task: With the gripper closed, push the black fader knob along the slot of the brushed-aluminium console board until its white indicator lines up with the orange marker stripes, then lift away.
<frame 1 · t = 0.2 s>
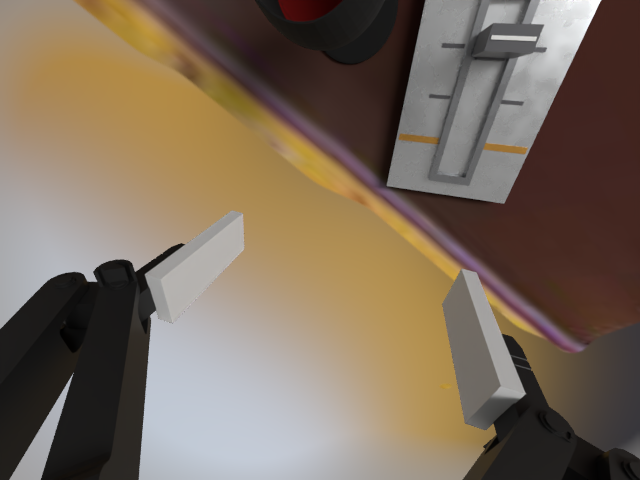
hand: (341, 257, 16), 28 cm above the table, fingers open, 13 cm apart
console: (470, 99, 32), on the table
fader knob: (502, 43, 25), point 5 cm above the table, slide at -5.0 cm
wine glass: (353, 13, 31), on the table
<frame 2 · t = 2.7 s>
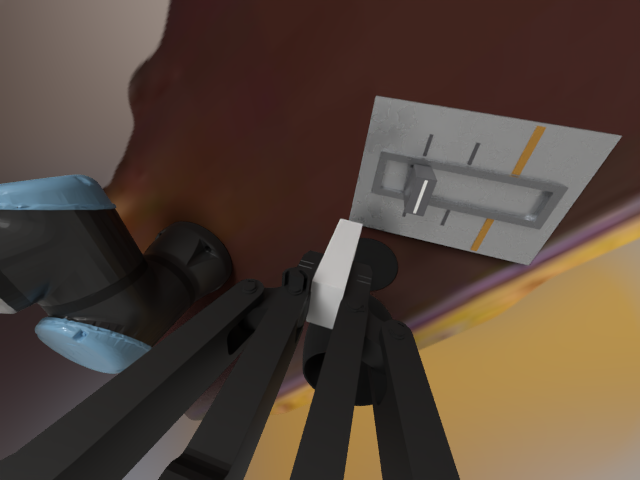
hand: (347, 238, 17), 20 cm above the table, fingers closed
console: (455, 182, 33), on the table
fader knob: (418, 187, 29), point 5 cm above the table, slide at -5.0 cm
wine glass: (365, 264, 42), on the table
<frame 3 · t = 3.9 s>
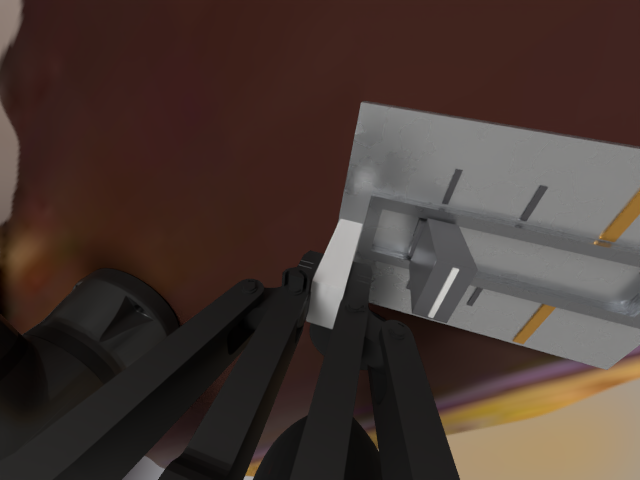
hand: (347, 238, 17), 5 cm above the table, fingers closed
console: (492, 240, 20), on the table
fader knob: (435, 262, 16), point 5 cm above the table, slide at -5.0 cm
wine glass: (352, 336, 30), on the table
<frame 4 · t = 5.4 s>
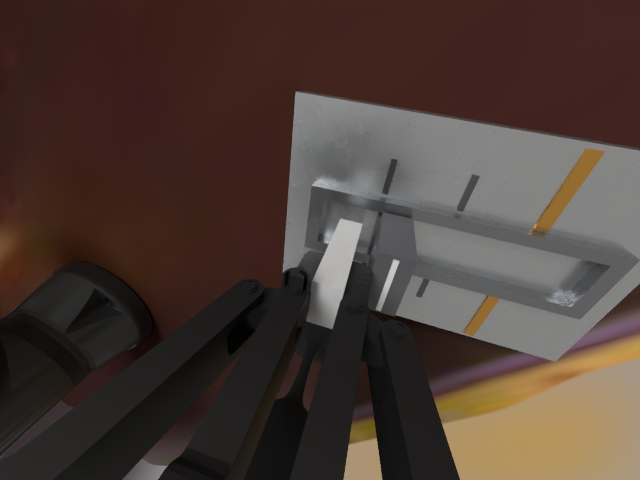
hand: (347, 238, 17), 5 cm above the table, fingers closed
console: (439, 231, 20), on the table
fader knob: (388, 256, 16), point 5 cm above the table, slide at -3.8 cm, touching gripper
wine glass: (317, 330, 30), on the table
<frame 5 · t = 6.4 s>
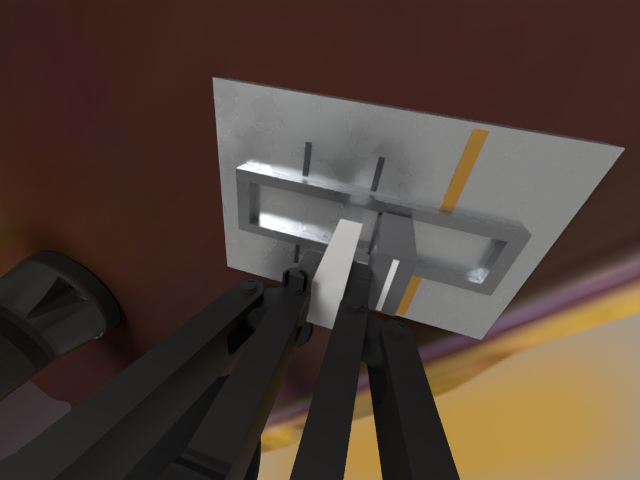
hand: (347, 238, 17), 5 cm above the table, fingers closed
console: (367, 214, 21), on the table
fader knob: (388, 256, 16), point 5 cm above the table, slide at 2.0 cm, touching gripper
wine glass: (271, 315, 31), on the table
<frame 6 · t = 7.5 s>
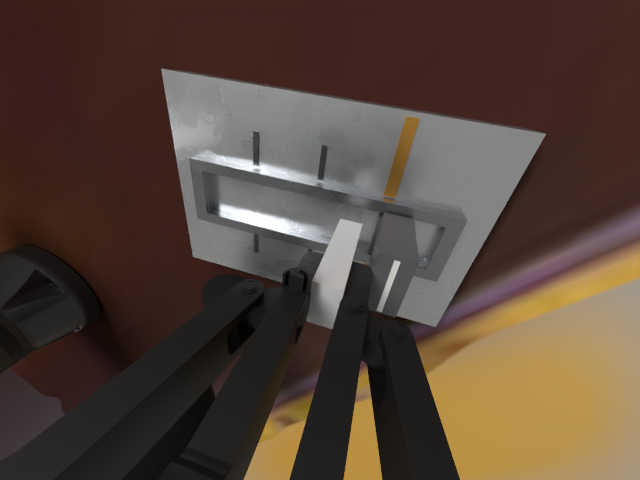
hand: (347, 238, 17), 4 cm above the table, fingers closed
console: (322, 204, 22), on the table
fader knob: (389, 256, 16), point 5 cm above the table, slide at 5.9 cm, touching gripper
wine glass: (242, 307, 32), on the table
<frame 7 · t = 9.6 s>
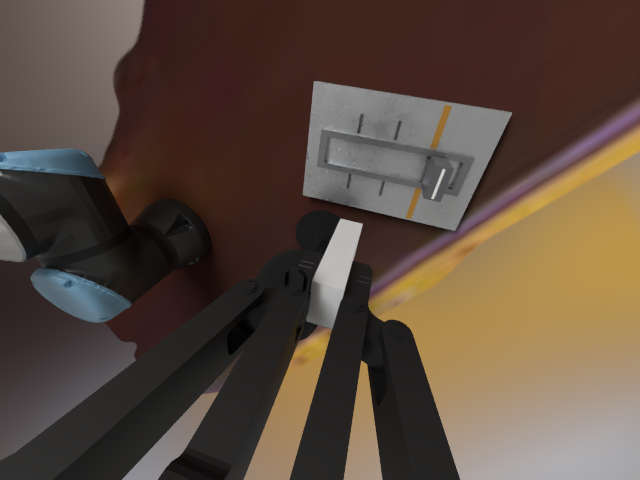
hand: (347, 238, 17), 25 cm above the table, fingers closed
console: (389, 157, 37), on the table
fader knob: (435, 176, 32), point 5 cm above the table, slide at 5.9 cm
wine glass: (323, 235, 48), on the table
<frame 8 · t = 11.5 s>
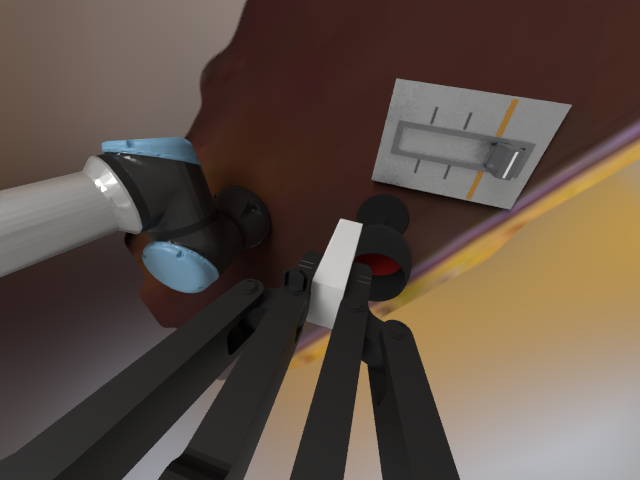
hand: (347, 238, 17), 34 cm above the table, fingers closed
console: (454, 145, 43), on the table
fader knob: (502, 160, 38), point 5 cm above the table, slide at 5.9 cm
wine glass: (382, 217, 53), on the table
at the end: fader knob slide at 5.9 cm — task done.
